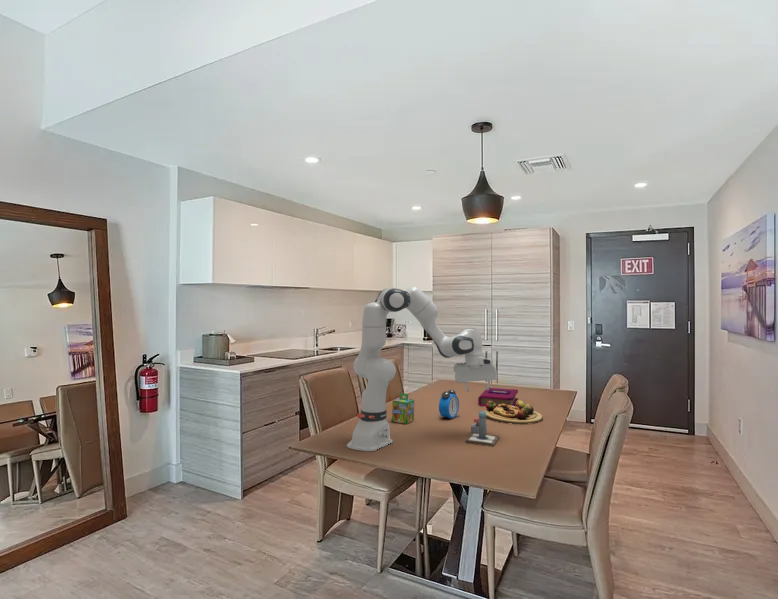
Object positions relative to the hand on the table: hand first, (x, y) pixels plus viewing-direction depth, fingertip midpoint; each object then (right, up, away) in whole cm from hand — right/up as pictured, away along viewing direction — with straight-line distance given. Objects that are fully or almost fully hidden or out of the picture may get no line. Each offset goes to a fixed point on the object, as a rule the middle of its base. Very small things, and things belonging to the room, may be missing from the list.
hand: (477, 390), depth 224 cm
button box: (+1, -22, +3) cm, 22 cm away
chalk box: (-35, -22, +25) cm, 48 cm away
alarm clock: (-9, -22, +34) cm, 41 cm away
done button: (+1, -18, +3) cm, 18 cm away
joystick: (+1, -20, -8) cm, 22 cm away
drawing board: (+1, -22, -8) cm, 23 cm away
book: (+27, -22, +71) cm, 79 cm away
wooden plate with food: (+27, -22, +37) cm, 50 cm away
